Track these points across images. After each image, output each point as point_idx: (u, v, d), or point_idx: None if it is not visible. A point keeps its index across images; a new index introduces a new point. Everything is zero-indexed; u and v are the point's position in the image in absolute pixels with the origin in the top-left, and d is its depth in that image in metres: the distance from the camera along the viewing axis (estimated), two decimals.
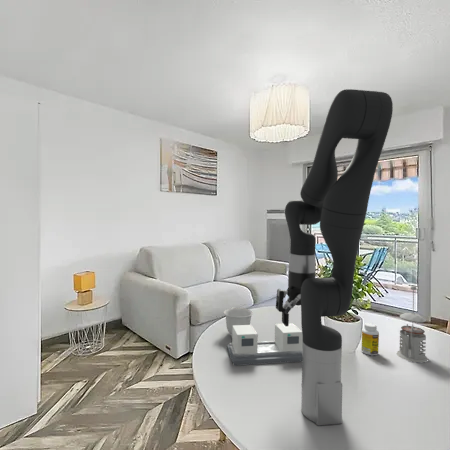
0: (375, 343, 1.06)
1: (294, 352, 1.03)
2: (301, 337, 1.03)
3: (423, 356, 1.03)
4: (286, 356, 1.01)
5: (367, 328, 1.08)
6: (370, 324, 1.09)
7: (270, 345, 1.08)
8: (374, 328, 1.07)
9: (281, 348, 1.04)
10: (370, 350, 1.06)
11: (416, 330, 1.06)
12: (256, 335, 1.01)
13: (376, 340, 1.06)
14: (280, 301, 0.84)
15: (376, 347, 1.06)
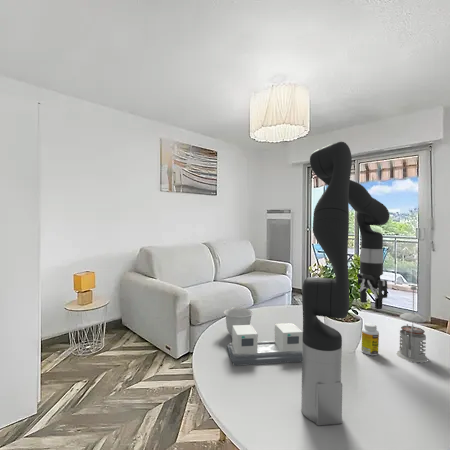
0: (375, 343, 1.06)
1: (294, 352, 1.03)
2: (301, 337, 1.03)
3: (423, 356, 1.03)
4: (286, 356, 1.01)
5: (367, 328, 1.08)
6: (370, 324, 1.09)
7: (270, 345, 1.08)
8: (374, 328, 1.07)
9: (281, 348, 1.04)
10: (370, 350, 1.06)
11: (416, 330, 1.06)
12: (256, 335, 1.01)
13: (376, 340, 1.06)
14: None
15: (376, 347, 1.06)
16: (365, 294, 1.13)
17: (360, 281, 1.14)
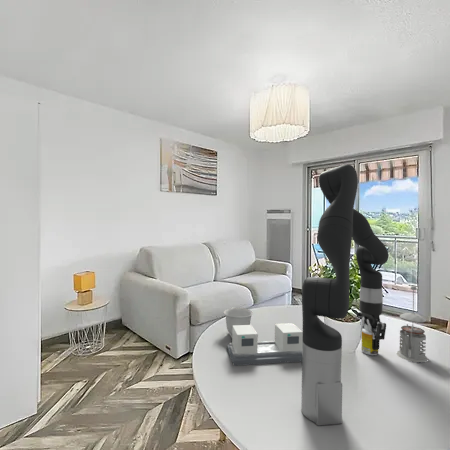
0: None
1: (294, 352, 1.03)
2: (301, 337, 1.03)
3: (423, 356, 1.03)
4: (286, 356, 1.01)
5: (367, 328, 1.08)
6: None
7: (270, 345, 1.08)
8: None
9: (281, 348, 1.04)
10: (370, 350, 1.06)
11: (416, 330, 1.06)
12: (256, 335, 1.01)
13: None
14: None
15: None
16: None
17: None
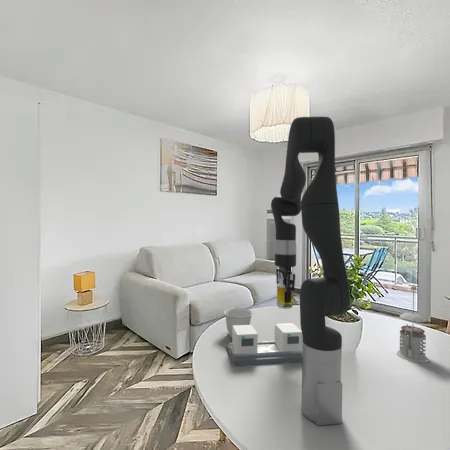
0: None
1: (294, 352, 1.03)
2: (301, 337, 1.03)
3: (423, 356, 1.03)
4: (286, 356, 1.01)
5: (281, 281, 1.05)
6: None
7: (270, 345, 1.08)
8: None
9: (281, 348, 1.04)
10: (282, 304, 1.04)
11: (416, 330, 1.06)
12: (256, 335, 1.01)
13: None
14: None
15: None
16: None
17: None
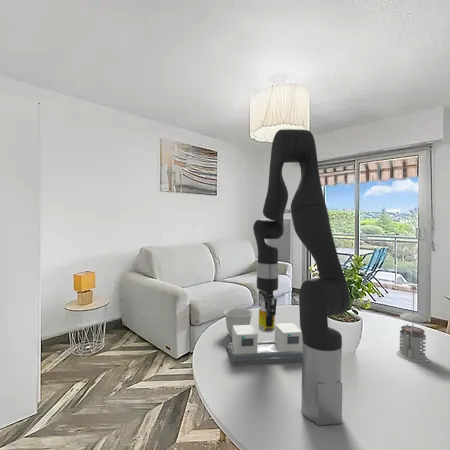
0: None
1: (294, 352, 1.03)
2: (301, 337, 1.03)
3: (423, 356, 1.03)
4: (286, 356, 1.01)
5: (262, 305, 1.05)
6: None
7: (270, 345, 1.08)
8: None
9: (281, 348, 1.04)
10: (264, 327, 1.03)
11: (416, 330, 1.06)
12: (256, 335, 1.01)
13: None
14: None
15: None
16: None
17: (261, 297, 1.11)
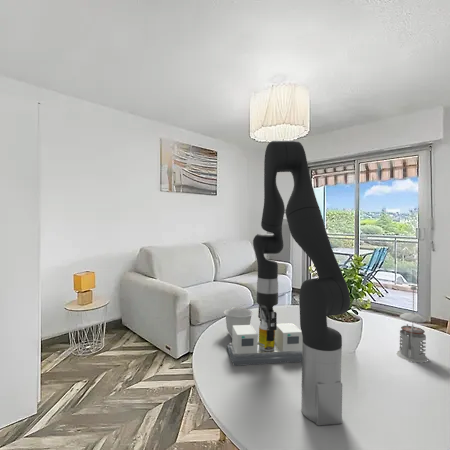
0: None
1: (294, 352, 1.03)
2: (301, 337, 1.03)
3: (423, 356, 1.03)
4: (286, 356, 1.01)
5: (263, 323, 1.05)
6: None
7: None
8: None
9: (281, 348, 1.04)
10: (264, 346, 1.03)
11: (416, 330, 1.06)
12: (256, 335, 1.01)
13: None
14: None
15: (270, 343, 1.03)
16: None
17: None
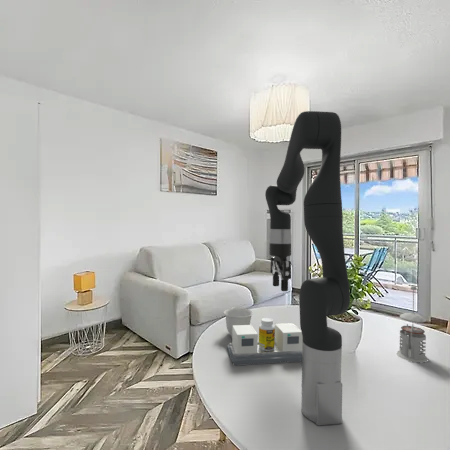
0: (269, 338, 1.03)
1: (294, 352, 1.03)
2: (301, 337, 1.03)
3: (423, 356, 1.03)
4: (286, 356, 1.01)
5: (262, 323, 1.05)
6: (267, 319, 1.06)
7: None
8: (269, 323, 1.04)
9: (281, 348, 1.04)
10: (264, 346, 1.03)
11: (416, 330, 1.06)
12: (256, 335, 1.01)
13: (270, 335, 1.03)
14: None
15: (270, 343, 1.03)
16: (277, 278, 1.09)
17: None
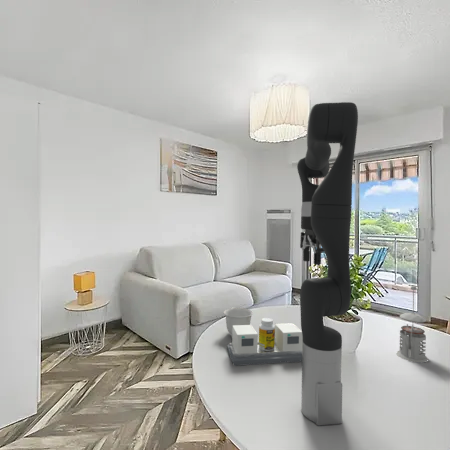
0: (269, 338, 1.03)
1: (294, 352, 1.03)
2: (301, 337, 1.03)
3: (423, 356, 1.03)
4: (286, 356, 1.01)
5: (262, 323, 1.05)
6: (267, 319, 1.06)
7: None
8: (269, 323, 1.04)
9: (281, 348, 1.04)
10: (264, 346, 1.03)
11: (416, 330, 1.06)
12: (256, 335, 1.01)
13: (270, 335, 1.03)
14: None
15: (270, 343, 1.03)
16: (308, 253, 1.07)
17: (304, 239, 1.08)
